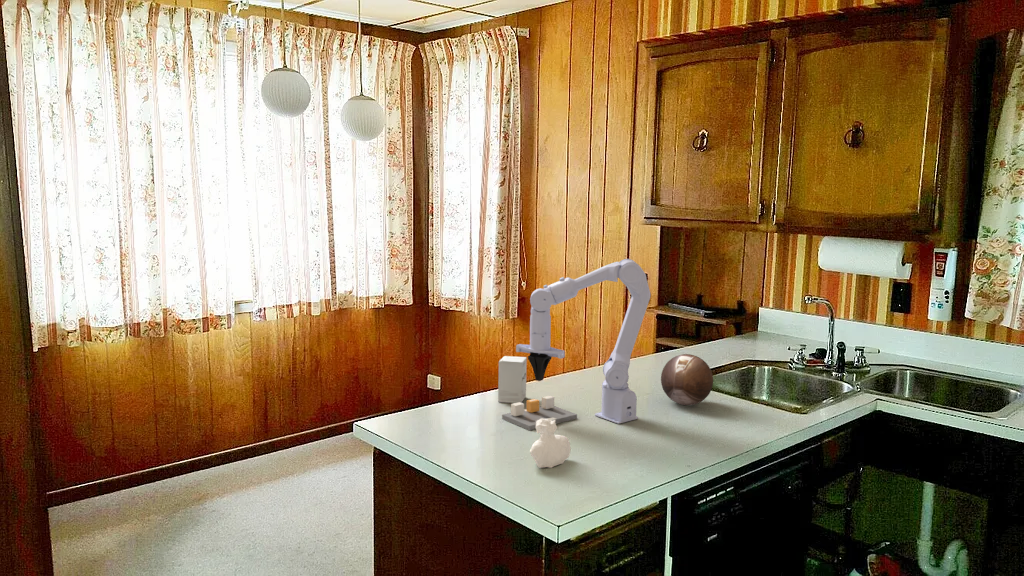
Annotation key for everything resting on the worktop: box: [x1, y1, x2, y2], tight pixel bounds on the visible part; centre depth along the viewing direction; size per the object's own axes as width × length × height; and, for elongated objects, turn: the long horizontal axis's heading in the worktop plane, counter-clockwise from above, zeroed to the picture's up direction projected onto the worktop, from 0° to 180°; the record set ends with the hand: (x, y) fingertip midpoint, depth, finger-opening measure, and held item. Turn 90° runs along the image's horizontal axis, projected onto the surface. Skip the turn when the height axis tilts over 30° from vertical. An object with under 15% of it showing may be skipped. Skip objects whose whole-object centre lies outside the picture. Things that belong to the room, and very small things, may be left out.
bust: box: [529, 418, 572, 469], centre depth 169 cm, size 12×8×11 cm
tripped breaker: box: [525, 398, 540, 413], centre depth 204 cm, size 2×3×3 cm, turn 128°
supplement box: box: [497, 355, 528, 404], centre depth 219 cm, size 7×7×13 cm
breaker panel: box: [501, 395, 578, 431], centre depth 201 cm, size 12×17×4 cm
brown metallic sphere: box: [660, 353, 714, 406], centre depth 215 cm, size 15×15×15 cm
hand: (539, 380), depth 203 cm, fingers closed
